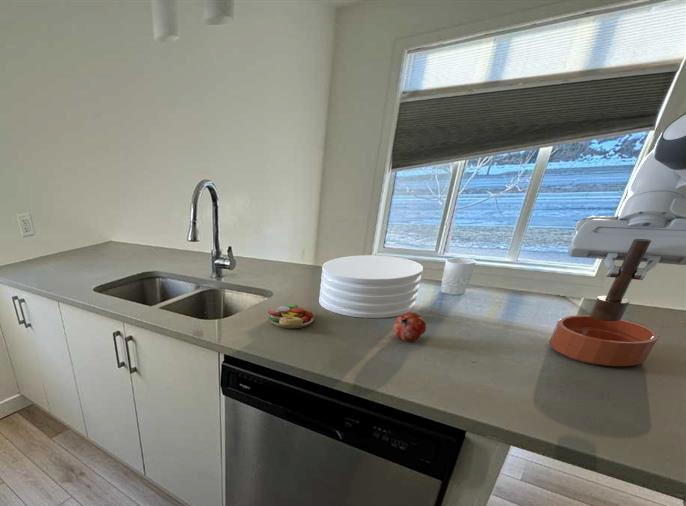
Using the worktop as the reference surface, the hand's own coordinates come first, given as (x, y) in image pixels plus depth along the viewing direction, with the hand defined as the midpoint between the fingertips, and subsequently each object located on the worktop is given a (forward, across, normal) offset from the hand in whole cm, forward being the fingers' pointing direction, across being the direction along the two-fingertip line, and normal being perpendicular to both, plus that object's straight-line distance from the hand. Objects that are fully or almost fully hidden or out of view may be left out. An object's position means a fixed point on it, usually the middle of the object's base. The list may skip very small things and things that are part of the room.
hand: (625, 277), depth 82 cm
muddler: (+6, 0, +7) cm, 9 cm away
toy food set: (+24, -65, +1) cm, 69 cm away
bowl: (+12, +1, +13) cm, 17 cm away
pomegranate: (+21, -34, +4) cm, 40 cm away
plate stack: (+5, -53, +20) cm, 57 cm away
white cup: (-10, -34, +36) cm, 50 cm away
